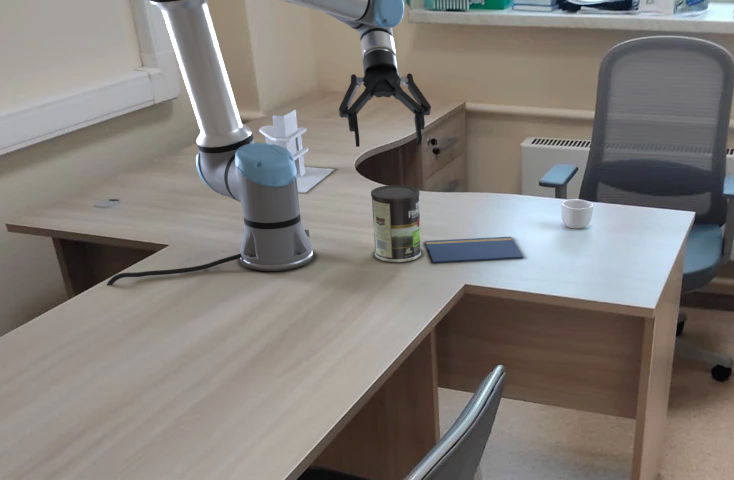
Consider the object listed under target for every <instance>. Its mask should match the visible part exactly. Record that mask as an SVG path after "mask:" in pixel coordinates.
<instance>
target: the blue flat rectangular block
mask: <svg viewBox="0 0 734 480" xmlns="http://www.w3.org/2000/svg"><path fill="white" fill-rule="evenodd" d="M425 245H426V248H427V250H428V253H429V255H430V258H431V260H432V261H431V262H432V263H433V264H442V263H443V264H444V263H460V262H461V263H462V262H464V263H465V262H478V261H479V262H481V261H482V262H483V261H497V260H499V261H500V260H517V259H524V256H523V253H522V252H521V251H520V249H519V248H518V246H517V245H516V243H515V241H514V239H513V238H512V236H500V237H499V236H498V237H479V238H478V237H475V238H459V239H457V238H456V239H440V240H438V239H437V240H425Z"/></svg>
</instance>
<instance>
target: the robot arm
mask: <svg viewBox="0 0 734 480" xmlns="http://www.w3.org/2000/svg"><path fill="white" fill-rule="evenodd" d="M149 2H150V3H151V4H152V5H153V6H155V7H156V8H158V9H159V10H160V11H161V13H162V16H163V19H164V22H165V26H166V29H167V32H168V35H169V38H170V41H171V44H172V47H173V51H174V53H175V56H176V59H177V62H178V65H179V70H180V72H181V76H182V78H183V81H184V85H185V87H186V91H187V93H188V97H189V99H190V102H191V103H190V104H191V107H192V109H193V112H194V115H195V118H196V121H197V125H198V128H199V131H200V132H199V134H198V136H197V137H196V139H195V142H196V146H197V149H198V150H197V154H196V155H195V166H196V171H197V173H198V176H199V177H200V180H201V181H203V183H205V185H206V186H207V187H209V188H210V189H211V190H212V191H214V192H215V193H217V194H219V195H221V196H224V197H227V198H230V199H232V200H235V201H237V202H238V203H239V202H240V203H241V208H242V209H241V210H242V216H243V223H244V224H243V225H244V226H243V227H244V228H243V234H242V237H241V243H240V248H239V253H237V254H233V255H230V256H227V257H224V258H220V259H217V260H214V261H212V262H208V263H205V264H201V265H195V266H189V267H181V268H171V269H161V270H160V269H159V270H158V269H157V270H146V271H137V272H136V271H135V272H121V273H117V274H114V276H112V277H110V279H109V280H108V282H107V283H106V286H112V285H114V284H115V283H116V281H118V280H120V279H124V278H141V277H147V276H148V277H149V276H164V275H165V276H166V275H175V274H183V273H190V272H197V271H202V270H206V269H209V268H213V267H216V266H219V265H222V264H225V263H229V262H232V261H236V260H239V259H240V263H241V265H242V266H244V267H245V268H248V269H250V270H254V271H259V272H260V271H261V272H283V271H291V270H294V269H298V268H301V267H303V266H305V265H307V264H309V263H310V262H311V261H312V260H313V259H314V252H313V247H312V244H311V242H310V240H309V237H310V230H309V229H305V228H304V226H303V224H302V219H301V209H300V198H299V192H298V187H297V177H296V175H297V170H296V166H295V162H294V158H293V155H292V154H291V153H290V151H288V150H287V149H285V148H283V147H281V146H278V145H275V144H272V145H269V144H268V143H266V142H255V139H254V134H253V131H252V128H250V127H249V126H247V125H246V124H244V123H243V122H242V119H241V116H240V111H239V109H238V106H237V102H236V99H235V95H234V92H233V88H232V85H231V82H230V79H229V75H228V73H227V72H228V71H227V68H226V64H225V62H224V61H225V60H224V57H223V54H222V50H221V48H220V44H219V40H218V37H217V33H216V30H215V27H214V23H213V20H212V16H211V13H210V10H209V6H208V0H149ZM280 2H285V3H289V4H292V5H296V6H300V7H304V8H308V9H311V10H315V11H318V12H323V13H325V14H326V15H329V16H331V17H332V18H335V19H337V20H338V21H340V22H342V23H343V24H345V25H346V26H349V27H350V28H351V29H353V30H355V31H357V32H358V33H359V38H360V39H359V40H360V47H361V48H360V49H361V56H362V66H363V67H362V68H363V77H360V76H359V77H358V76H357V75H356V74H351V75H350V84H349V86H348V88H347V90H346V93H345V94H344V97H343V99H342V101H341V103H340V105H339V107H338V114H339V117H340V118H346V120H347V122H348V130H349V132H353V133H354V140H355V147H357V148H358V147H360V145H361V144H360V132H359V123H358V114H359V113H360V111H361V110H362V109H363V108H364V106H365V105H366V104H367V103H368V102H369V101H370V100H372V99H373V97H376V98H391V97H393V98H394V99H396V100H397V101H399V102H401V103H402V104H403V106H405V107H406V108H407V109H408V110H409V111H410V112H412V113H413V114H414V126H415V133H416V134H415V135H416V141H417V145H418V146H420V145H422V140H423V139H422V138H423V137H422V136H423V135H422V130H424V129H425V125H426V122H425V121H426V120H425V116H430V115H431V110H432V106H431V104H430V103H429V101H428V100H427V98H426V97H425V96H424V94H423V93H422V92H421V90H420V88H419V87H418V85H417V84H416V83H415V80H414V77H413V74H412V73H411V72H410V73H407V74H406V76H400V75H399V72H398V71H399V70H398V62H397V57H396V55H397V54H396V45H395V40H394V30H393V28H396V27H397V26H398V25H399V24H400V23H401V22H402V20H403V18H404V14H405V2H404V0H280ZM401 84H402V85H404V87H405V88H407V89H408V91H409V93H410V94H411V96H412V97H413V98H412V97H411V96H410V95H409V94H408V93H407V92H406V91H404V90H403V88H402V86H401ZM361 85H363V86H364V87H365V88H364V90H363V92H361V94H360V95H359V96H358V97H357V98H356V100H355V101H354V102H353V103H352V101H353V99H354V98H355V96H356V95H355V94H356V92H357V89H359V88H360V87H361ZM351 103H352V104H351ZM350 105H351V106H350Z"/></svg>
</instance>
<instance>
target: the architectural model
mask: <svg viewBox="0 0 734 480" xmlns="http://www.w3.org/2000/svg"><path fill="white" fill-rule="evenodd" d="M271 116H272V117H271V118H272V125H266V124H265V125H263V126H261V127H260V128H258V132H259V133H260V134H262V135H263V136H264V140H265V141H264V142H265V143H268V144H269V145H272V144H275V145H278V146H281V147H283V148H285V149H287V150H288V151H290V153H291V154H292V155H293V158H294V162H295V166H296V170H297V175H296V177H297V187H298V193H301V194H306V193H307V192H309V191H310V190H312V188H314V187H315V186H316V185H317V184H318V183H320V182H321V181H322V180H324V179H325V178H326V177H327V176H329V174H331V173H332V172H333V171H335V170H336V169H335V168H325V167H311V166H305V158H304V157H305V156H304V155H305V154H306V153H307V152H309V147H303V138H302V135H303V134H305V133H306V132H307V127H299V126H298V119H297V109H293V110H292V111H290V112H288V113H286V114H284V115H281V114H280V115H279V114H277V115H274V114H273V115H271Z"/></svg>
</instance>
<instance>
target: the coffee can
mask: <svg viewBox="0 0 734 480" xmlns="http://www.w3.org/2000/svg"><path fill="white" fill-rule="evenodd" d="M420 194H421V193H420V190H419V189H418V188H416V187H413V186H409V185H403V184H392V185H382V186H379V187H376V188H373V189H372V190H371V191H370V196H371V205H372V206H371V207H372V223H373V239H374V240H373V241H374V256H375V258H377V259H378V260H380V261H382V262H388V263H406V262H411V261H414V260H417V259H418V258H420V257H421V256H422V252H421V250H422V249H421V217H420V216H421V215H420V214H421V213H420V210H421V209H420Z"/></svg>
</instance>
